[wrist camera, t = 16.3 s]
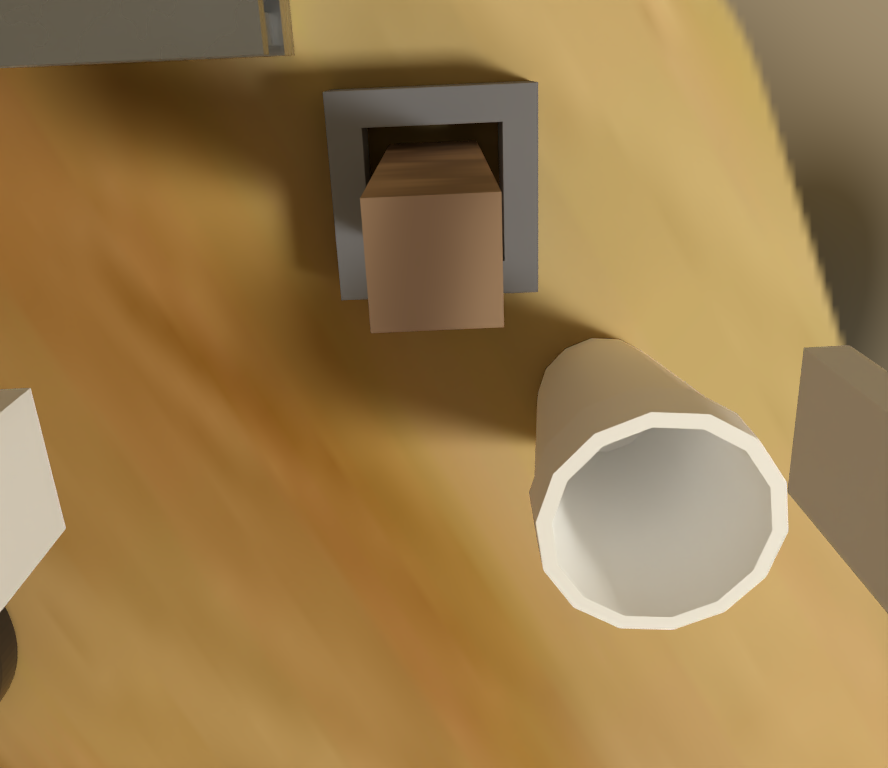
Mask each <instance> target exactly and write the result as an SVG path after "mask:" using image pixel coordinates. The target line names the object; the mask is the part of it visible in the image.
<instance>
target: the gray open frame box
mask: <svg viewBox="0 0 888 768" xmlns="http://www.w3.org/2000/svg"><path fill="white" fill-rule="evenodd" d="M293 55H294V45H293V35H292V25H291V15H290V5H289V0H0V68H24V67H48V66H70V65H92V64H114V63H137V62H159V61H181V60H204V59H226V58H248V57H271V56H293Z"/></svg>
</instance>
